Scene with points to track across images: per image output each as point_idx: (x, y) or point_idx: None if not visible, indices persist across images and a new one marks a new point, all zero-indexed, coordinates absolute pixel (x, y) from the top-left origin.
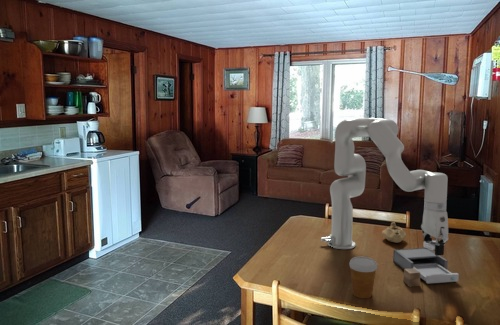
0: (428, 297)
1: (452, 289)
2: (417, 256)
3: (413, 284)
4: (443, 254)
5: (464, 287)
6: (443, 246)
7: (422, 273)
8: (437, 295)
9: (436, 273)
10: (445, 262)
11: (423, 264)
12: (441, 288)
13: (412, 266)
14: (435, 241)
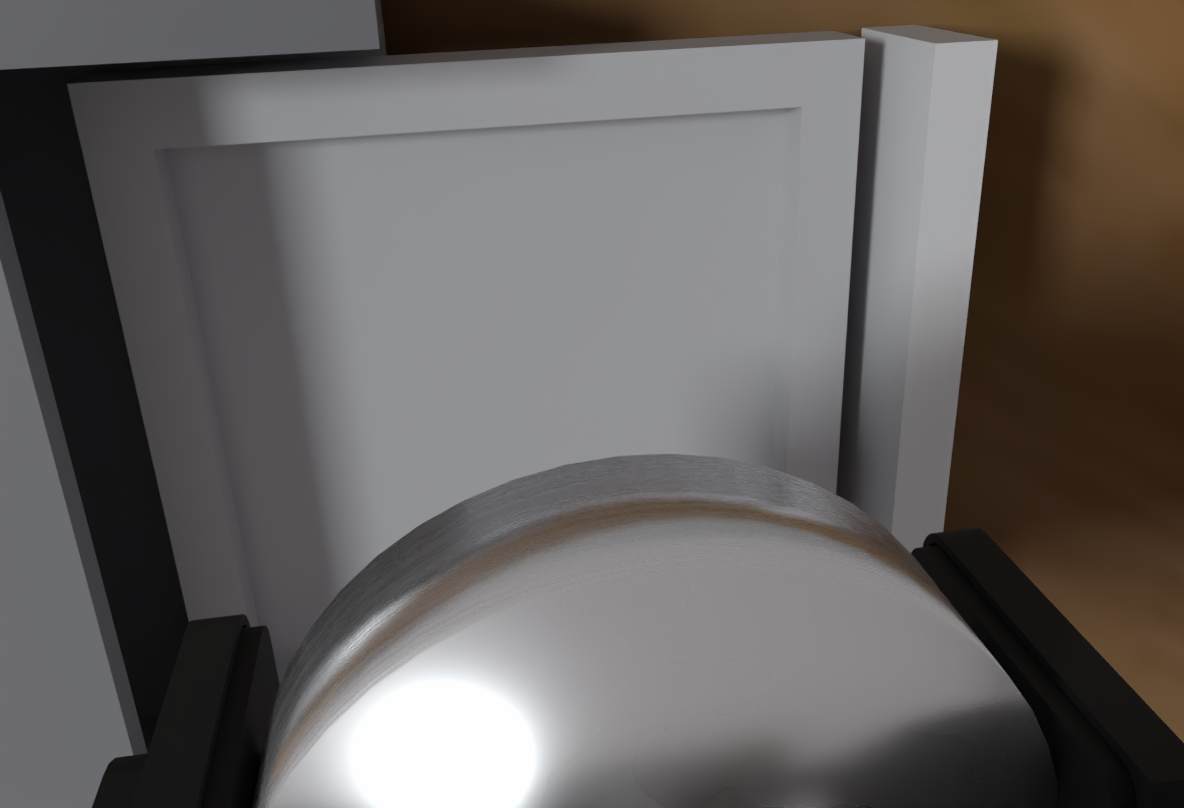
0: (1163, 702)
1: (1076, 275)
2: (65, 651)
3: None
4: (976, 532)
5: (1076, 8)
6: (1149, 736)
7: None
8: (1158, 578)
9: (602, 338)
10: (378, 28)
11: (201, 459)
12: (997, 429)
13: None
14: (424, 776)
